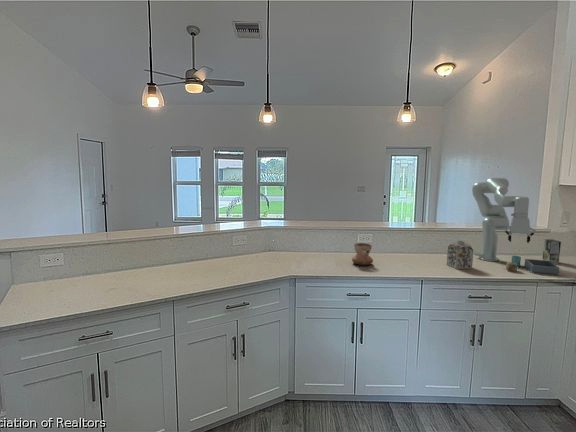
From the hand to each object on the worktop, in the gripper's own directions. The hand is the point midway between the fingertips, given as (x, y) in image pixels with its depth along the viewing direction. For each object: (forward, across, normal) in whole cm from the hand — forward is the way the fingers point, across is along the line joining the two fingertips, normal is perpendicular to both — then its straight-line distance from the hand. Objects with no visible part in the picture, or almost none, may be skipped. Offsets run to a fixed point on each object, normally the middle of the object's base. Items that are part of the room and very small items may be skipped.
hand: (518, 241), depth 217 cm
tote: (+19, +14, +9) cm, 26 cm away
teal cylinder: (+19, +1, +13) cm, 23 cm away
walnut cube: (+20, -3, -1) cm, 20 cm away
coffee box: (+19, +25, +37) cm, 49 cm away
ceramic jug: (+19, -95, -28) cm, 101 cm away
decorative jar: (+19, -34, -6) cm, 39 cm away
